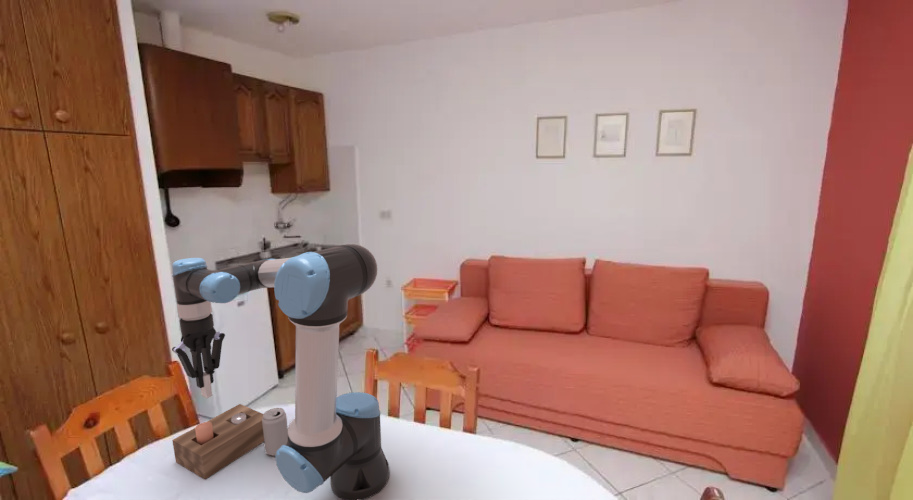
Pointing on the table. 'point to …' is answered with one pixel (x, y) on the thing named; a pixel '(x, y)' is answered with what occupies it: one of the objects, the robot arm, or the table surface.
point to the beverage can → (274, 430)
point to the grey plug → (238, 418)
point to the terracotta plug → (204, 432)
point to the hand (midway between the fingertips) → (207, 395)
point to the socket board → (220, 442)
